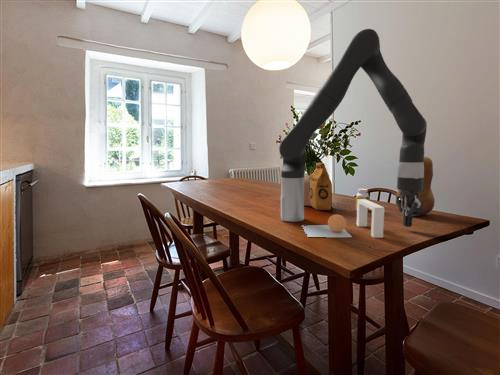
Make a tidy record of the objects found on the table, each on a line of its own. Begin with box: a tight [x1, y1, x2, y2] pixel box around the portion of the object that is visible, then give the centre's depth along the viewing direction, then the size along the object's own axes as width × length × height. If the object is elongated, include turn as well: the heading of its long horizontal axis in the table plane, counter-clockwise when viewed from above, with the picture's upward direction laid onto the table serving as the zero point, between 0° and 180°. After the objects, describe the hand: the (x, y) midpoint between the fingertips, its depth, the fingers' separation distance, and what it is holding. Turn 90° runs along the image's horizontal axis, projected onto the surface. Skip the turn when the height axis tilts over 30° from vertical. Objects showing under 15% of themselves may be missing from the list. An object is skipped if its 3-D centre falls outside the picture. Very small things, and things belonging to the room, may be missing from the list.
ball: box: [327, 214, 347, 232], centre depth 94 cm, size 6×6×6 cm
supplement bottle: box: [355, 188, 370, 212], centre depth 126 cm, size 5×5×10 cm
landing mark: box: [300, 224, 353, 238], centre depth 95 cm, size 14×14×1 cm
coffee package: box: [308, 162, 333, 211], centre depth 132 cm, size 10×12×22 cm
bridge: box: [356, 199, 385, 239], centre depth 94 cm, size 3×15×10 cm, turn 178°
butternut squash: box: [395, 155, 435, 217], centre depth 115 cm, size 14×13×25 cm
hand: (407, 226), depth 94 cm, fingers closed
